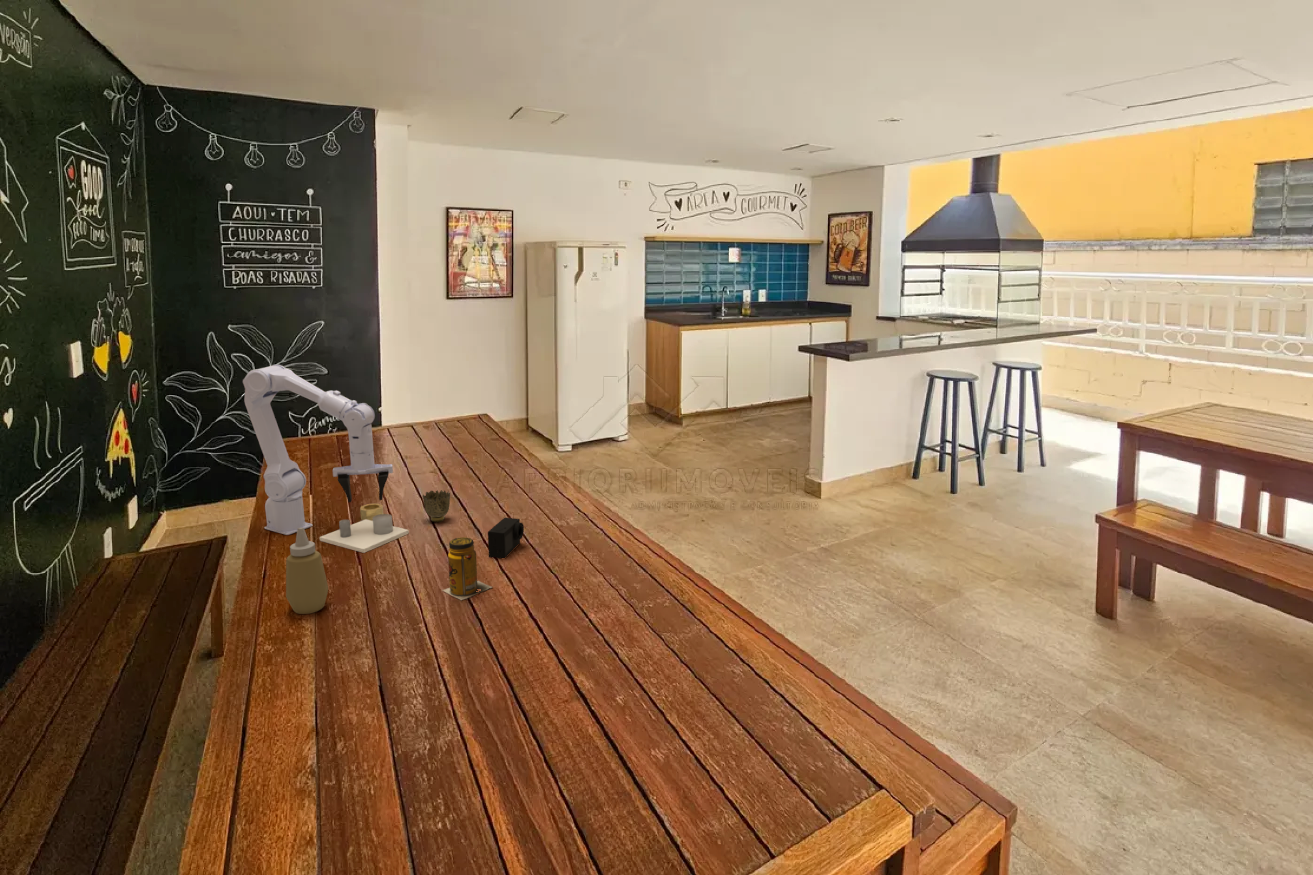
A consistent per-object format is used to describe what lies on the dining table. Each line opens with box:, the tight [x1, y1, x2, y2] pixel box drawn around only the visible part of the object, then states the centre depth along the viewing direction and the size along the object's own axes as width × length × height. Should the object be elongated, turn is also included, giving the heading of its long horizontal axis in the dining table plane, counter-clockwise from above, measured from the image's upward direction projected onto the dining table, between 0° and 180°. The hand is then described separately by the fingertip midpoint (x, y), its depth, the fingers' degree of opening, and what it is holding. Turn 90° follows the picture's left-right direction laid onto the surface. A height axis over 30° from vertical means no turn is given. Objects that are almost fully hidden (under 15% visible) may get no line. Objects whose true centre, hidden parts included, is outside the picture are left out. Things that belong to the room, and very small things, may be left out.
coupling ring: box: [359, 502, 384, 521], centre depth 203 cm, size 6×6×3 cm
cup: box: [422, 489, 451, 523], centre depth 201 cm, size 8×7×8 cm
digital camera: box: [487, 517, 525, 559], centre depth 182 cm, size 10×5×7 cm, turn 169°
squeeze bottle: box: [285, 527, 329, 615], centre depth 149 cm, size 8×8×18 cm
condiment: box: [442, 536, 493, 601], centre depth 160 cm, size 7×8×12 cm
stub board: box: [319, 513, 409, 554], centre depth 189 cm, size 16×15×5 cm
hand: (365, 500), depth 190 cm, fingers open, 7 cm apart
